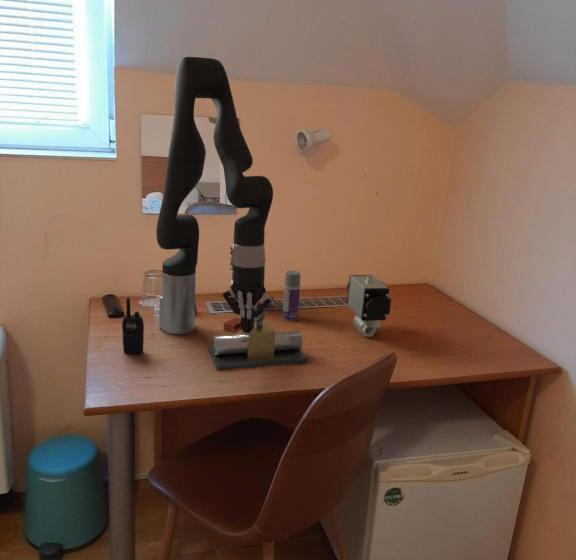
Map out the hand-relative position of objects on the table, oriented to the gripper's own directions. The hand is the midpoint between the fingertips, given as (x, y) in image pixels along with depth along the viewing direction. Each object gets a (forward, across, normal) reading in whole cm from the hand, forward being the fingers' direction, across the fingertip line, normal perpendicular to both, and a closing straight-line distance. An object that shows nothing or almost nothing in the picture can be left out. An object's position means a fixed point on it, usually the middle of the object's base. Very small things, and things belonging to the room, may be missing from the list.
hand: (247, 331), depth 142 cm
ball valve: (+12, +19, +43) cm, 48 cm away
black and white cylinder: (+10, -23, +44) cm, 51 cm away
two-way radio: (+10, -31, -2) cm, 33 cm away
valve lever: (0, -3, +5) cm, 6 cm away
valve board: (+11, -2, +11) cm, 15 cm away
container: (+11, -5, +42) cm, 43 cm away
